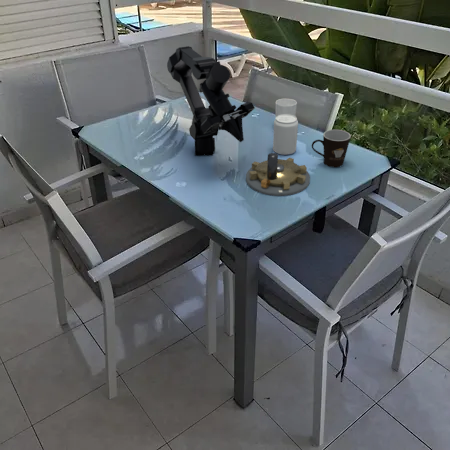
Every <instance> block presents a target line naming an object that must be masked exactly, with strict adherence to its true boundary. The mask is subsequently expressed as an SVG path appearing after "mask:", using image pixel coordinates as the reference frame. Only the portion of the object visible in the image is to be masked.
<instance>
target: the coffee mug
mask: <svg viewBox="0 0 450 450" xmlns="http://www.w3.org/2000/svg"><path fill="white" fill-rule="evenodd" d="M322 137H323V139H315V140H314V141H312V143H311V149H312V150H313V151H314V152H315V153H317V154H318V155H319V156H321V157H323V164H324V165H325V166H326V167H328V168H329V167H330V168H341V167H342V166H343V165H344V162H345V159H346V155H347V152H348V149H349V148H348V147H349V144H350V141H351V137H352V135H351V134H350V132H347V131H345V130H341V129H328V130H326V131H324V132H323V136H322ZM317 142H320V143H322V146H323V153H321V152H319V151H318V150H316V149H315V148H314V145H315V143H317ZM340 166H341V167H340Z"/></svg>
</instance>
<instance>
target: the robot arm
mask: <svg viewBox="0 0 450 450" xmlns="http://www.w3.org/2000/svg"><path fill="white" fill-rule="evenodd" d="M166 67H167V72H168V73H169V74H170V76H171V77H172V79H173V80H174V81H176V82H177V83H179V85H180V87H181V90H182V91H183V94H184V97H185V99H186V101H187V103H188V105H189V108H190V111H191V112H192V120H191V125H190V127H189V129H188V130H189V131H188V132H189V136H191V138H192V139H193V140H194V156H195V157H196V156H202V157H203V156H214V153H215V152H216V137H215V136H218V134H219V131H225V132H227V133H229V134H230V135H231V136H232V137H233V138H235V140H237V141H239V142H240V143H242V142H244V141H245V140H244V139H245V138H244V132H243V131H244V130H243V119H244V118H245V117H247V116H248V115H250V114H251V113H252V111H254V110H255V109H256V107H255V105H254V103H253V102H250V101H247V102H245V103H242V104H240V105H239V106H238V107H237V106H236V105H235V104H234V105H232V103H231V102H230V100H229V98H230V94H229V93H225V92H224V90H223V89H224V88H225V86H226V85H227V82H228V81H229V79H230V77H231V72H230V69H228V68H227V67H226V66H224V65H223V64H221V61H217V60H216V59H215V58H214V57H208V56H202V55H201V54H199V53H198V52H197V51H195V50H194V49H193V47H192V46H189V45H188V46H187V45H186V46H181V47H177V48H176V49H175V52H174V53H173V54H172V55H170V56H169V57H168V60H167V64H166ZM192 75H193V76H192ZM193 78H195V79H196V80H197V81H199V80H203V81H202V82H201V83H200V84H199V89H198V88H197V86H196V85H197V84H196V83H195V81H194V79H193ZM201 93H202V94H203V96H204V97H205V99H206V101H207V102H208V104H209V106H207V107H206V106H205V103H204V101H203V99H202V97H201Z"/></svg>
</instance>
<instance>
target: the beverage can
mask: <svg viewBox="0 0 450 450" xmlns="http://www.w3.org/2000/svg"><path fill="white" fill-rule="evenodd" d="M298 128H299V121H298V118H297V116H296V115H295V116H293V115H289V114H283V115H279V116H277V117H276V116H275V119H274V121H273V136H272V137H273V138H272V150H273V151H274V152H273V153H276V154H278V155H282V156H286V155H287V156H288V155H291V154H295V153H296V151H297V143H298V142H297V141H298V130H299V129H298Z"/></svg>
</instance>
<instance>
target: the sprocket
mask: <svg viewBox="0 0 450 450" xmlns="http://www.w3.org/2000/svg"><path fill="white" fill-rule="evenodd" d="M298 165H299V164H297V163H296V162H295V158H293V157H288V158H286V159H282V158H281V159H280V158H279V154H278V153H276V152H271V153H268V154H267V160H263V161H261V162H258V161H253V162H252V163H251V167H252V169H253V170H256V171H249V177H250V179H251V180H254V179H258V180H259V181H260V182H261V187H263V188H267V187H269V186H276V187H282V188H283V190H288V189H290V185H292V184H294V183H296V182H297V183H301V184H303V183H304V182H305V179H306V176H305V175H301V174H305V173H306V171H307V168H308V167H307V166H306V165H305V164H304V165H302V164H301V165H299V166H298Z"/></svg>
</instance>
